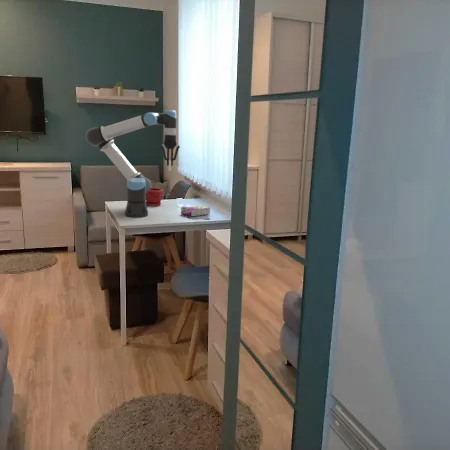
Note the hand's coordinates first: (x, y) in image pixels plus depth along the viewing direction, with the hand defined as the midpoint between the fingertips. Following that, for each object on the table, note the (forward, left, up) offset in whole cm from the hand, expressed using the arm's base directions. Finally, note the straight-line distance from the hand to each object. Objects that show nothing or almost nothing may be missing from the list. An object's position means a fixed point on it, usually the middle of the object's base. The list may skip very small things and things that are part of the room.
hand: (169, 170), depth 292 cm
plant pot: (-9, +24, -29) cm, 38 cm away
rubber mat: (+18, -16, -28) cm, 37 cm away
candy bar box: (+10, -13, -25) cm, 30 cm away
